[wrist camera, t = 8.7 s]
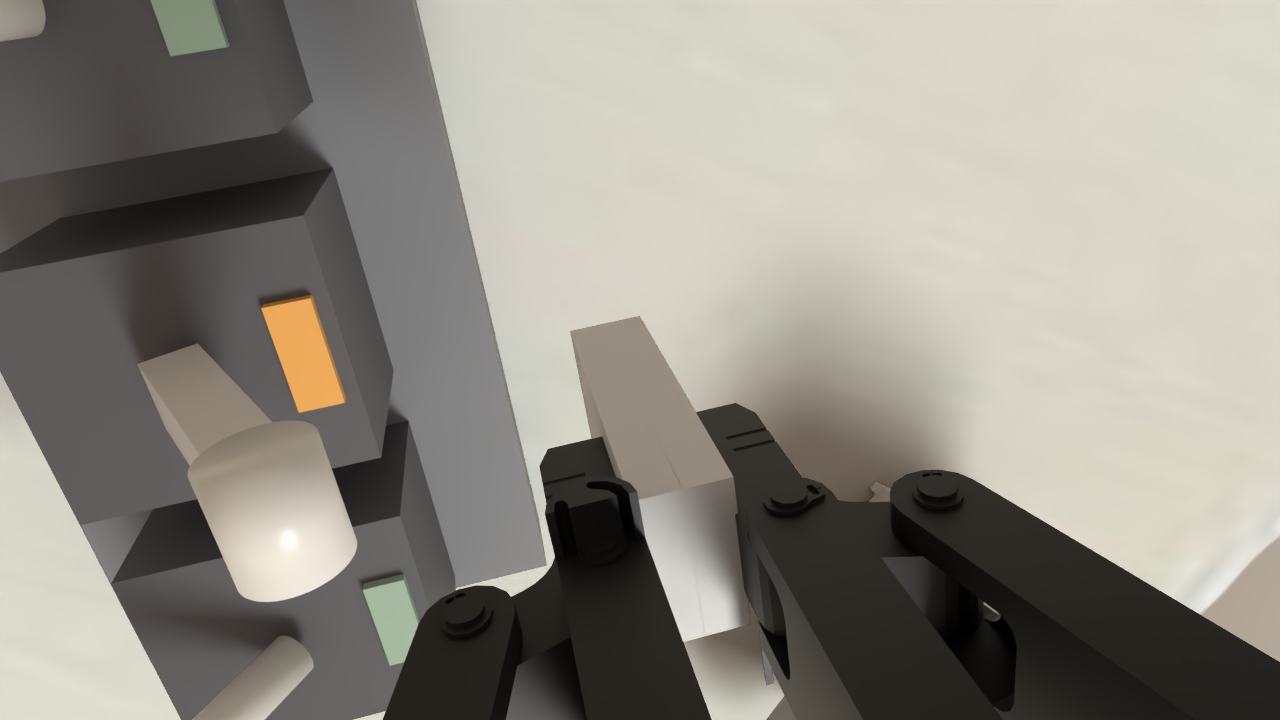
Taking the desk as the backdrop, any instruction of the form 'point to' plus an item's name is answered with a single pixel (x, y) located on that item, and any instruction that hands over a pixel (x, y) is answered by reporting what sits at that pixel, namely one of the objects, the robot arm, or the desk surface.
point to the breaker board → (255, 321)
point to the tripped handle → (253, 479)
